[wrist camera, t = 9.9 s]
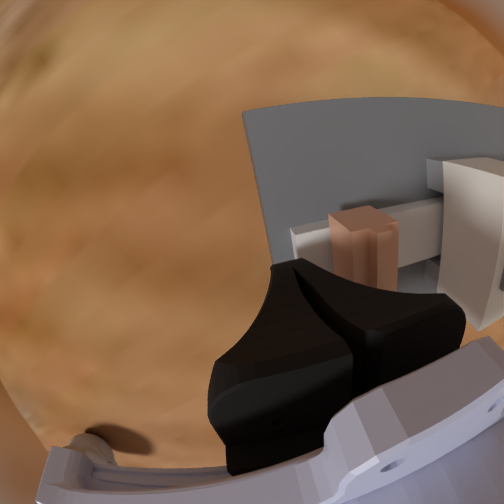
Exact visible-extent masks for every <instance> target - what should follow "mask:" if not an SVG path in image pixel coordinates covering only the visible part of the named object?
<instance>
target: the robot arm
mask: <svg viewBox="0 0 504 504" xmlns="http://www.w3.org/2000/svg"><path fill="white" fill-rule="evenodd" d="M270 270H271V279H270V284H269V288H268V292H267V295H266V297H265V300H264V303H263V305H262V307H261V310H260V311H259V313H258V315H257V317H256V319H255V320H254V322H253V323H252V325H251V327H250V328H249V329H248V331H247V332H246V333H245V334H244V336H243V337H242V338H241V339H240V340H239V341H238V342H237V343H236V344H235V345H234V346H233V347H232V348H231V349H230V350H228V351H227V352H226V353H225V354H224V355H222V356H221V357H220V358H219V359H217V360H216V361H215V363H214V367H213V370H212V374H211V379H210V384H209V389H208V418H209V421H210V423H211V425H212V426H213V428H214V429H215V431H216V432H217V434H218V435H219V437H220V438H221V440H222V441H223V443H224V444H225V446H226V464H227V466H218V467H204V468H178V469H163V468H137V467H124V466H114V465H105V464H98V463H93V461H92V460H91V459H90V458H88V457H87V456H86V455H84V454H83V453H81V452H79V451H77V450H73V449H68V448H62V447H57V446H51V449H50V452H49V455H48V458H47V461H46V465H45V468H44V471H43V474H42V478H41V481H40V485H39V489H38V492H37V496H36V500H35V501H36V502H37V504H504V351H503V350H502V349H501V348H500V347H499V346H498V345H497V344H496V343H495V342H494V341H493V340H492V339H491V338H490V337H489V336H487V337H483V338H480V339H477V340H474V341H471V342H469V343H468V344H466V345H464V346H463V347H461V348H459V347H460V344H461V341H462V338H463V335H464V331H465V326H466V315H465V313H464V311H463V309H462V308H461V307H460V306H459V305H458V304H457V303H456V302H454V301H453V300H452V299H451V298H450V297H449V296H448V295H446V294H445V293H423V294H419V293H404V292H395V291H389V290H383V289H378V288H373V287H369V286H366V285H362V284H359V283H356V282H353V281H350V280H347V279H345V278H342V277H340V276H337V275H335V274H333V273H331V272H329V271H327V270H325V269H323V268H321V267H319V266H317V265H315V264H313V263H311V262H310V261H308V260H306V259H304V258H298V259H294V260H290V261H286V262H281V263H277V264H273V265H272V266H271V267H270Z"/></svg>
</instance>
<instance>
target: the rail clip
mask: <svg viewBox="0 0 504 504" xmlns="http://www.w3.org/2000/svg"><path fill="white" fill-rule="evenodd" d="M328 219H329V228H330V237H331V248H332V259H333V271H334V274H335V275H337V276H340V277H342V278H345V279H347V280H350V281H353V282H356V283H359V284H362V285H366V286H369V287H373V288H378V289H383V290H389V291H395V292H396V291H397V275H398V246H399V223H398V221H397V220H395V219H394V218H392V217H390V216H388V215H386V214H385V213H383V212H381V211H379V210H377V209H375V208H373V207H372V206H370V205H368V206H363V207H358V208H353V209H348V210H343V211H338V212H334V213H329V214H328Z"/></svg>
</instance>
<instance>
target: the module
mask: <svg viewBox="0 0 504 504" xmlns="http://www.w3.org/2000/svg"><path fill="white" fill-rule="evenodd" d="M426 167H427V187H428V188H430V189H433V190H436V191H439V192H441V193H444V216H443V237H442V251H441V254H440V255H437V256H434V257H431V258H428V259H426V265H425V275H424V281H425V282H426V283H428V284H429V285H430V286H431V287H432V288H433V289H434V290H436V291H437V293H445V294H446V295H448V296H449V297H450V298H451V299H452V300H453V301H454V302H456V303H457V304H458V305H459V306H460V307H461V308H462V309H463V311H464V313H465V315H466V320H467V321H468V322H469V323H470V324H471V325H472V326H473V327H475V328H476V329H477V330H478V331H481V330H482V329H484V328H485V327H487V326H489V325H490V324H492V323H493V322H495V321H496V320H498V319H499V318H501V317H502V316H504V161H500V160H496V159H492V158H487V157H479V156H475V155H458V156H445V157H434V158H426Z"/></svg>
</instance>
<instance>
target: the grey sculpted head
mask: <svg viewBox="0 0 504 504" xmlns="http://www.w3.org/2000/svg"><path fill="white" fill-rule="evenodd" d="M62 448H68V449H73V450H77V451H79V452H81V453H83V454H84V455H86V456H87V457H88V458H90V459H91V460H92V461H93V463H98V464H105V465H114V466H118V465H117V463H116V461H115V460H114V454H113V451H112V449H111V447H110V446H109V445H108V444H107V442H105V441H104V440H103V439H102V438H100V437H98V436H96V435H94V434H89V433H83V434H79V435H77V436H75V437H74V438H73V439H72V440H71V441H70V443H69V445H68V446H65V447H62Z"/></svg>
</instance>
